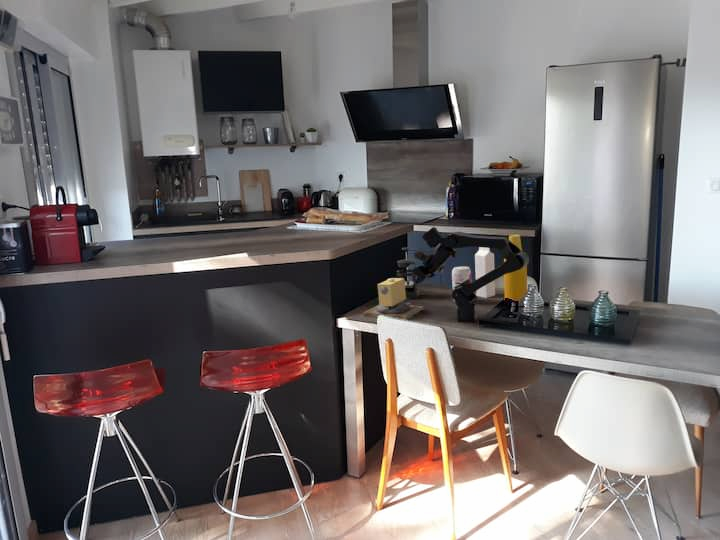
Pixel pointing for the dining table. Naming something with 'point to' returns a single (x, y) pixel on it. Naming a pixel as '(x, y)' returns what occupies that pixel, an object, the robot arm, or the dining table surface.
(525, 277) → the yellow bottle
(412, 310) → the level base
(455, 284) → the supplement can
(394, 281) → the yellow boxy piece
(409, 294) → the french press
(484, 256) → the milk
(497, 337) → the dining table surface
